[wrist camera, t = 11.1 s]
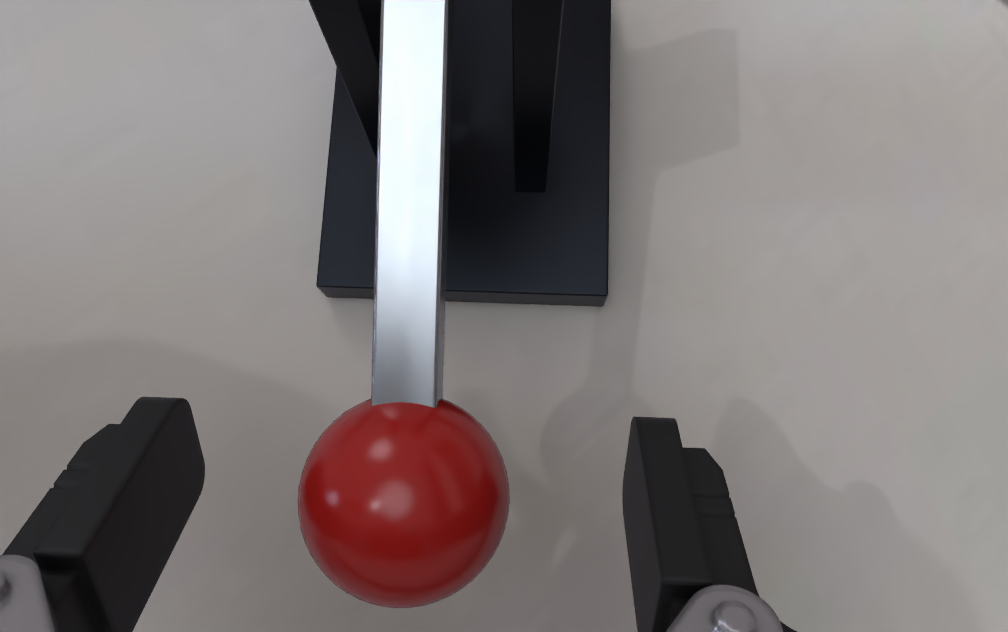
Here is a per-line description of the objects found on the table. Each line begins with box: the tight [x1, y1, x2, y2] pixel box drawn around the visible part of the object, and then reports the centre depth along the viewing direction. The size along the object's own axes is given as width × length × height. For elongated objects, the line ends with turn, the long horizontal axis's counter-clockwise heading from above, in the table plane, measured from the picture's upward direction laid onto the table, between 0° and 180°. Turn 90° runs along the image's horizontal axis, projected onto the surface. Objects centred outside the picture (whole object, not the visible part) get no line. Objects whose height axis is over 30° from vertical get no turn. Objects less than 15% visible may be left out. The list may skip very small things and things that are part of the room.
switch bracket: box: [309, 0, 611, 306], centre depth 19 cm, size 11×9×16 cm
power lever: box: [298, 0, 510, 608], centre depth 13 cm, size 15×4×4 cm, turn 178°
